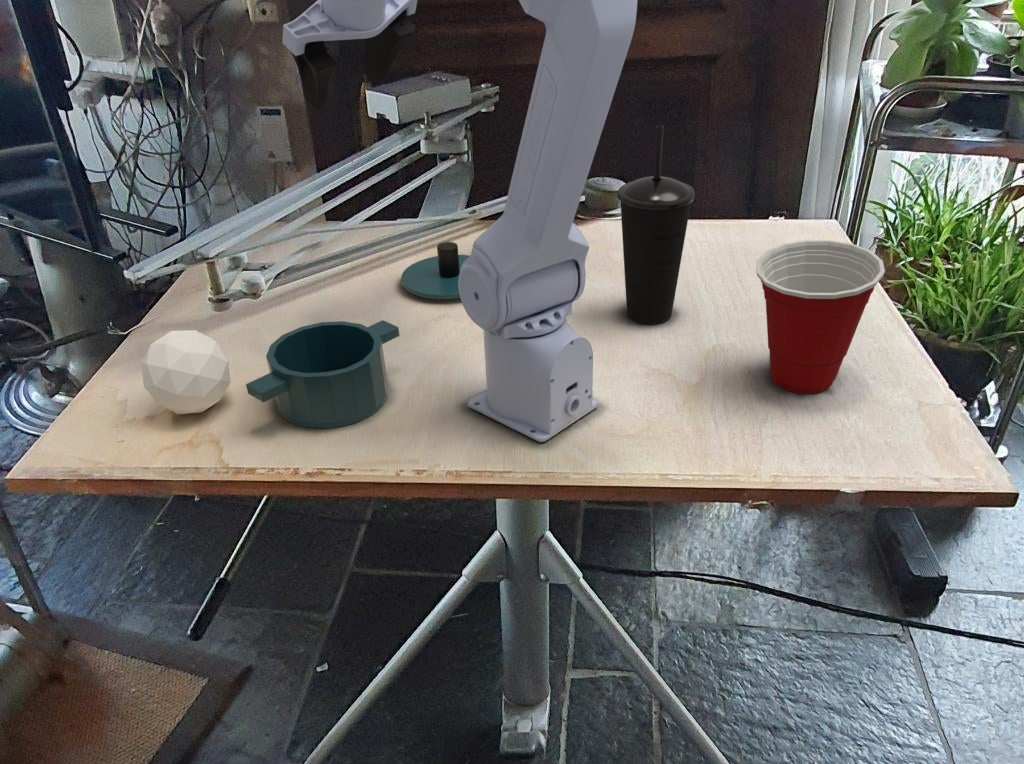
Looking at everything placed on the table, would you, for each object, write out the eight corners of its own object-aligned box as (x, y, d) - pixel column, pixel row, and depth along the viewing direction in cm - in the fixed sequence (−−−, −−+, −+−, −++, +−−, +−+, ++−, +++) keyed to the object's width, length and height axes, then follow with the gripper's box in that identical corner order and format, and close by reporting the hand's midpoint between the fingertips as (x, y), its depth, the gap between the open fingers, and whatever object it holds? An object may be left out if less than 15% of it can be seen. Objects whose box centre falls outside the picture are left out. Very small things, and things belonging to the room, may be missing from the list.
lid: (518, 279, 105) (516, 242, 103) (448, 313, 99) (445, 275, 96) (451, 255, 112) (449, 219, 109) (382, 285, 105) (377, 249, 103)
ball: (181, 437, 86) (110, 384, 82) (224, 374, 89) (158, 321, 85) (216, 426, 80) (141, 369, 76) (261, 360, 84) (192, 302, 80)
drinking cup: (665, 294, 101) (677, 111, 89) (697, 323, 95) (715, 131, 83) (602, 305, 99) (607, 120, 87) (631, 336, 93) (640, 142, 81)
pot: (430, 382, 87) (425, 332, 84) (297, 455, 78) (286, 402, 75) (363, 349, 93) (356, 301, 90) (232, 413, 84) (219, 362, 80)
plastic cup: (719, 364, 88) (732, 249, 81) (813, 342, 90) (833, 230, 84) (783, 420, 79) (803, 297, 72) (884, 395, 82) (913, 274, 75)
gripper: (391, -80, 83) (373, 45, 95) (262, -43, 76) (259, 87, 87) (441, -34, 82) (416, 87, 93) (315, 8, 75) (305, 133, 86)
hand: (343, 90), depth 90 cm, fingers open, 7 cm apart
